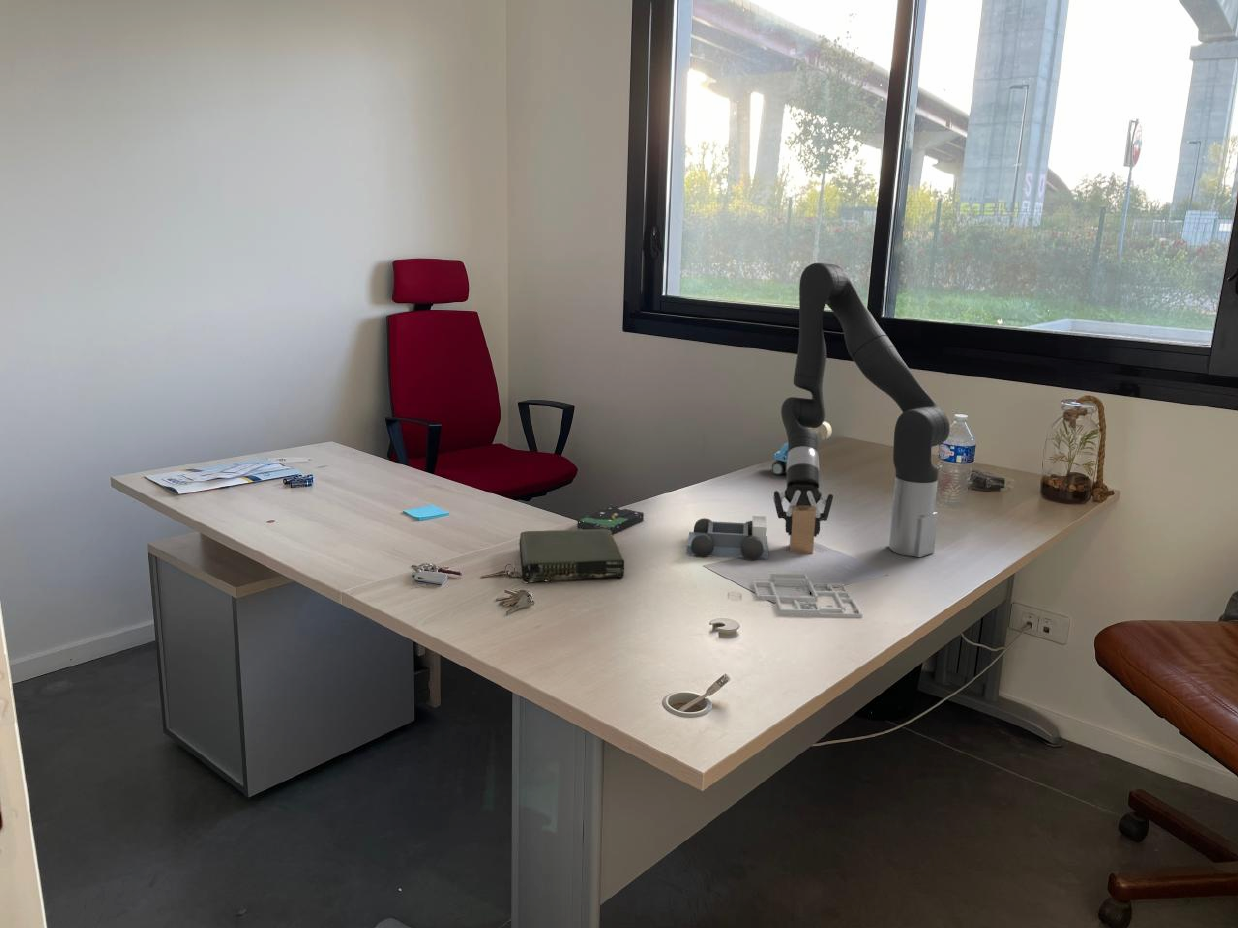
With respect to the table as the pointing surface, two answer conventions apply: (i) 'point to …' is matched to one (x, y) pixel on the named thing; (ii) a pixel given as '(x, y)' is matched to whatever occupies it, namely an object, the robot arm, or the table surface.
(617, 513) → the disk drive
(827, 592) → the floor plan model
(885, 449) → the table surface
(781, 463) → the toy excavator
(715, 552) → the chassis
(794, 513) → the brown rectangular block
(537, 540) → the network switch
